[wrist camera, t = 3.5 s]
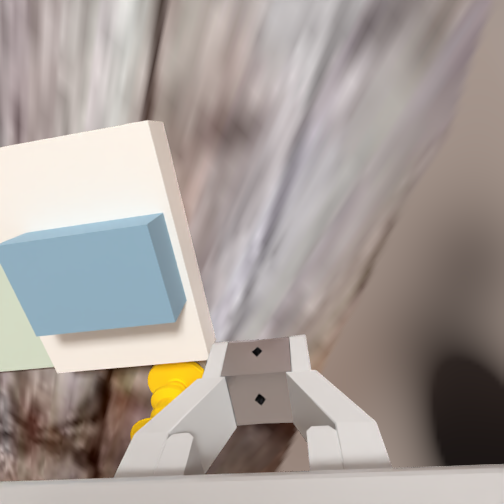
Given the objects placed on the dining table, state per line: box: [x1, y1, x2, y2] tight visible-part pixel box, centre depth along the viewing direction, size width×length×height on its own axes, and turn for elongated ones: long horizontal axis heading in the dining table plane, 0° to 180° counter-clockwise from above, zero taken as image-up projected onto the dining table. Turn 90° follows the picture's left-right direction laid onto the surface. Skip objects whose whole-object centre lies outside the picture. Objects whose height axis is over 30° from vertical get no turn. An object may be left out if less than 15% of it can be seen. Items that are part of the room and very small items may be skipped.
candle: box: [130, 361, 204, 440], centre depth 19 cm, size 5×5×16 cm
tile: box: [0, 213, 187, 337], centre depth 18 cm, size 6×9×2 cm, turn 99°
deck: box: [0, 120, 215, 373], centre depth 21 cm, size 16×12×2 cm
